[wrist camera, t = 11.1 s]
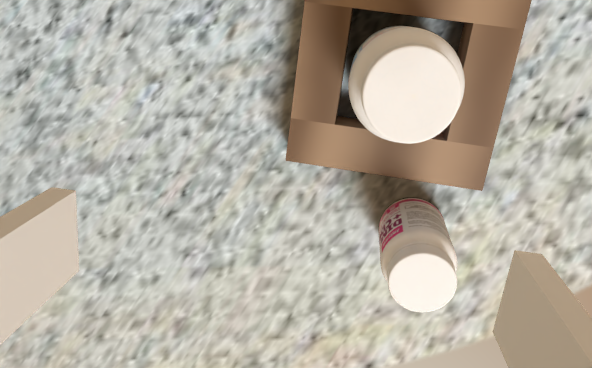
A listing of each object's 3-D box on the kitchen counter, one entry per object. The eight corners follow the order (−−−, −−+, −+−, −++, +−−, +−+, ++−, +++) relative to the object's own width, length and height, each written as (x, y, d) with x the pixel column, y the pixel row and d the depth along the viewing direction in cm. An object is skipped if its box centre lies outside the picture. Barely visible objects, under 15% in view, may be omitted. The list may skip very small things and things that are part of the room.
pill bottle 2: (385, 190, 37) (390, 239, 29) (451, 202, 37) (474, 254, 29) (372, 249, 39) (374, 310, 31) (435, 261, 38) (453, 325, 30)
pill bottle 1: (412, 131, 36) (432, 181, 25) (335, 89, 35) (323, 122, 25) (461, 51, 33) (506, 69, 23) (379, 7, 33) (387, 4, 23)
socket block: (291, 149, 37) (285, 160, 34) (315, -45, 33) (310, -51, 30) (472, 176, 36) (482, 190, 33) (522, -21, 32) (537, -24, 29)
